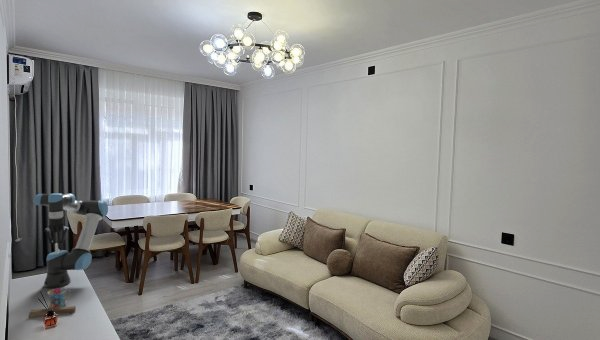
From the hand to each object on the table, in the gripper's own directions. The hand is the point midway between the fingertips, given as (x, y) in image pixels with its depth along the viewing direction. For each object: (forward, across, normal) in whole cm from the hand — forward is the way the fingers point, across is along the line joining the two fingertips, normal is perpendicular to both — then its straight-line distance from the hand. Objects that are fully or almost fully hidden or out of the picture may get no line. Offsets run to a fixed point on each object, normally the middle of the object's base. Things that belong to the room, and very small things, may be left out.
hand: (57, 253), depth 212 cm
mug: (+28, +6, -18) cm, 34 cm away
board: (+28, +5, -26) cm, 39 cm away
